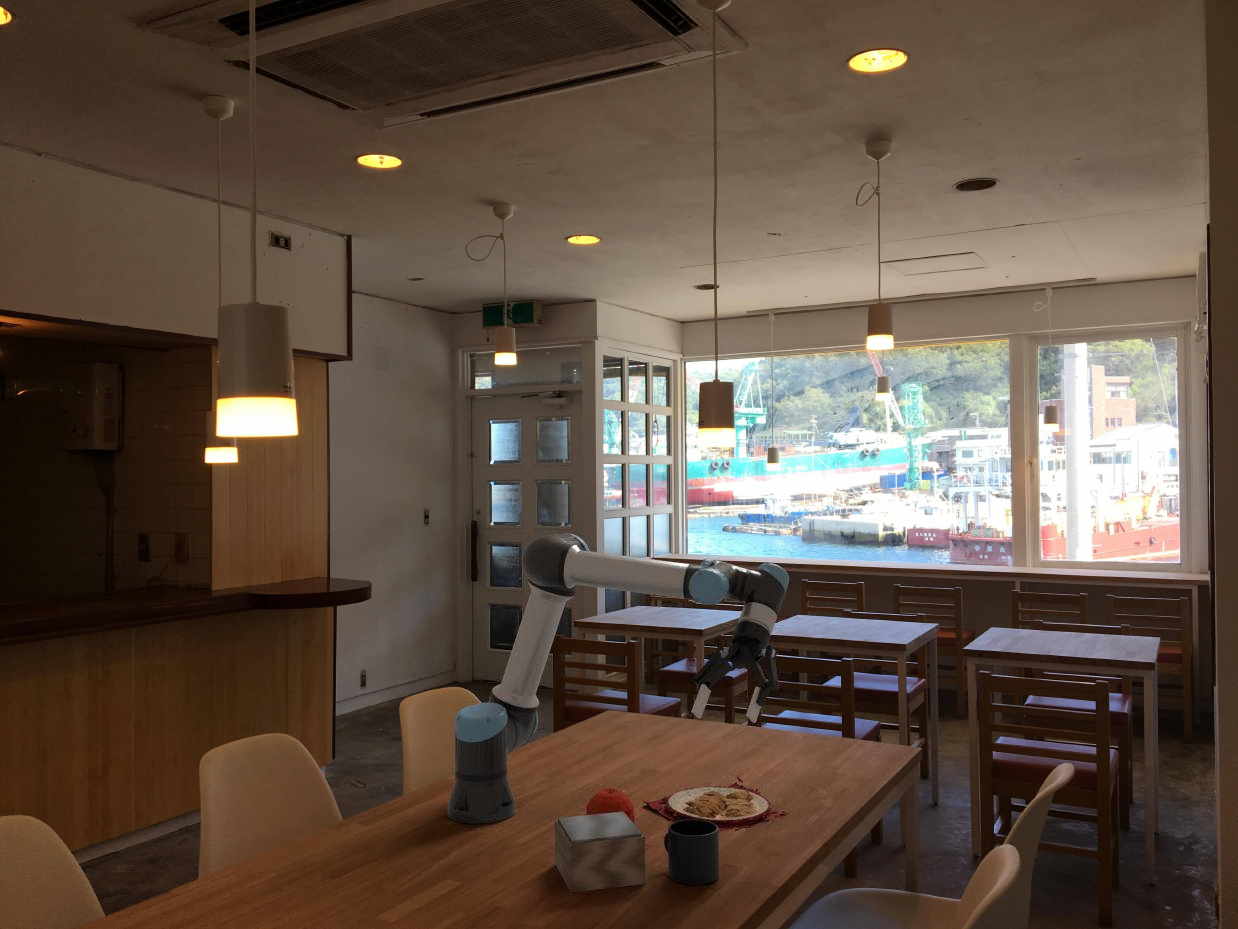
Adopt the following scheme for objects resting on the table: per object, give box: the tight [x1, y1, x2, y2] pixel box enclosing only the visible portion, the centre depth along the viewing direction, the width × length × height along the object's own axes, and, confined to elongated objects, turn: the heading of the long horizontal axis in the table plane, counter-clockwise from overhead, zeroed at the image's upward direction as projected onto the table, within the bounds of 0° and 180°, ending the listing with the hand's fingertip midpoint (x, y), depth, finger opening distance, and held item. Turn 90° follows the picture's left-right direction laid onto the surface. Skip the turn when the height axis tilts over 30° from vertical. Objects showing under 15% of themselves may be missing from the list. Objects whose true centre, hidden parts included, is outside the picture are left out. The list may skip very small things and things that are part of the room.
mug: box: [663, 819, 720, 886], centre depth 185 cm, size 9×12×9 cm
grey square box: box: [554, 812, 646, 893], centre depth 186 cm, size 14×14×9 cm
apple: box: [585, 787, 636, 823], centre depth 202 cm, size 10×10×12 cm
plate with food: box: [642, 775, 790, 832], centre depth 222 cm, size 25×26×4 cm
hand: (722, 717), depth 200 cm, fingers open, 13 cm apart
